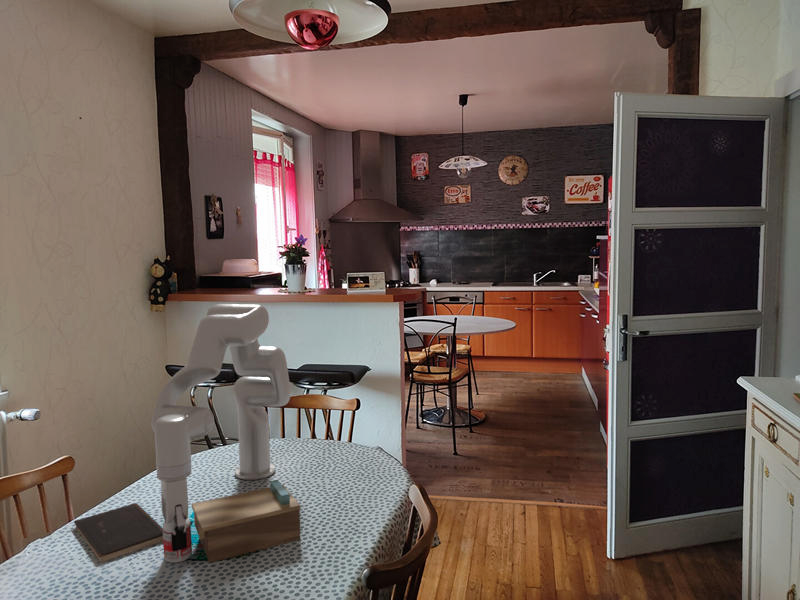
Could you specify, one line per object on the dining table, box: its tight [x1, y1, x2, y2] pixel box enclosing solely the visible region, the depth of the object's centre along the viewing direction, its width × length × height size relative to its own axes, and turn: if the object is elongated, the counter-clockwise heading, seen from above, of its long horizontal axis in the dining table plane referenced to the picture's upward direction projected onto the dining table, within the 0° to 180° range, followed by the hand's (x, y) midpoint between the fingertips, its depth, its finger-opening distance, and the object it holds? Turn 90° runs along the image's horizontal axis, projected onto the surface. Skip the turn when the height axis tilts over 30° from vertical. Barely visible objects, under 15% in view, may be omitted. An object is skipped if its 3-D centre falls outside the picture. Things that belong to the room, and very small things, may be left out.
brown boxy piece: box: [198, 508, 301, 564], centre depth 143 cm, size 13×22×8 cm, turn 118°
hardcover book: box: [73, 502, 163, 563], centre depth 147 cm, size 16×23×2 cm
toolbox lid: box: [191, 479, 301, 540], centre depth 143 cm, size 14×23×7 cm, turn 118°
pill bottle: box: [162, 517, 193, 564], centre depth 135 cm, size 6×6×11 cm
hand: (177, 541), depth 135 cm, fingers closed on pill bottle, 6 cm apart
